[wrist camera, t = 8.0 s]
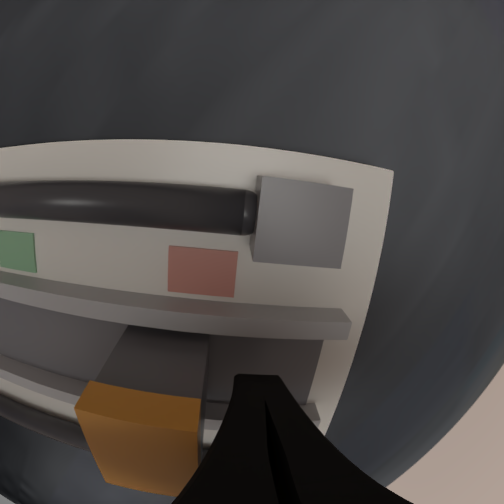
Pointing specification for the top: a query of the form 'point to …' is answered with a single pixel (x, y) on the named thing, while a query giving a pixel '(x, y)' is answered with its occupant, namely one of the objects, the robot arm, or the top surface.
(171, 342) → the breaker lever
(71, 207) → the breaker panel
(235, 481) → the robot arm
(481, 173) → the top surface
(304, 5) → the top surface
